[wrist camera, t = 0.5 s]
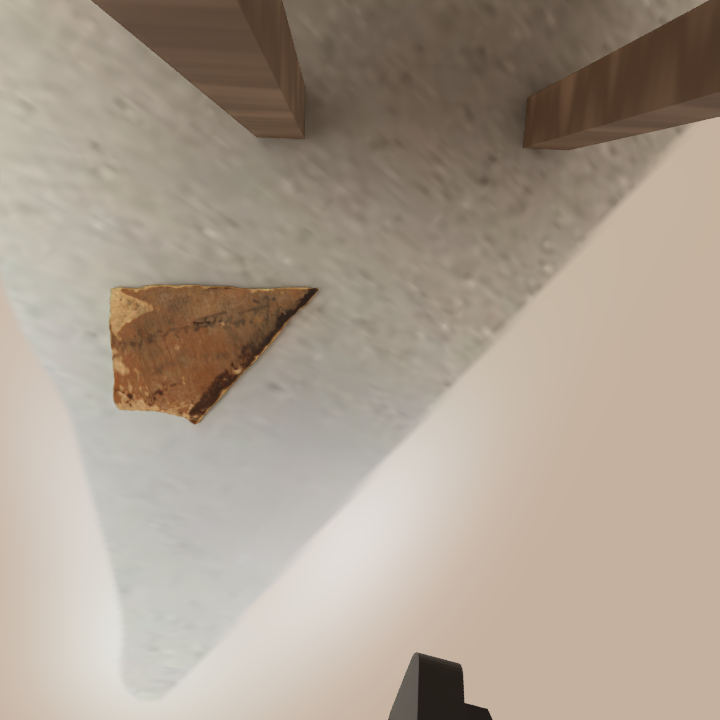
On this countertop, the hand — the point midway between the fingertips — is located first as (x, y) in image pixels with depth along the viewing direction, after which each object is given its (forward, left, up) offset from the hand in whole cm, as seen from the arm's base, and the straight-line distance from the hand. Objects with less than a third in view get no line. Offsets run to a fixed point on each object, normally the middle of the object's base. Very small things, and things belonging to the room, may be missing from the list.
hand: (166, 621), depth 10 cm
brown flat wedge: (0, -5, -26) cm, 26 cm away
